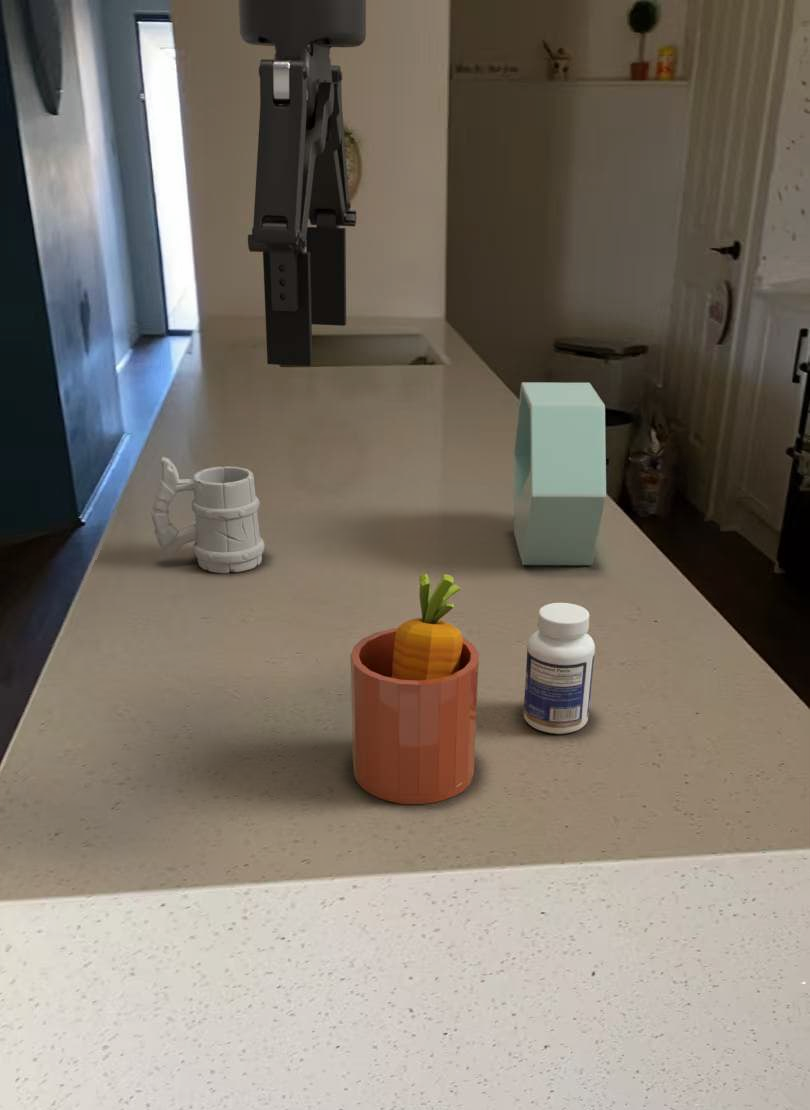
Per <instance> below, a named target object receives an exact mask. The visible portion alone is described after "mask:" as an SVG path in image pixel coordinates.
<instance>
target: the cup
mask: <svg viewBox="0 0 810 1110" xmlns="http://www.w3.org/2000/svg"><path fill="white" fill-rule="evenodd" d="M397 629H398V627H395V628H389V629H384V630H381V631H378V632H374V633H372V634H370V635H368V636H365V637H363V638H362V639H360V640H359V641H358V642H357V643H356V644H354V645H353V647H352V649H351V652H350V653H351V654H350V686H351V687H350V691H351V737H352V739H351V740H352V764H353V776H354V779H355V780H356V782H357V784H358V785H359V786H360V787H361V789H363V790H364V791H365V792H367V793H368V794H370V795H372V796H374V797H376V798H378V799H380V800H384V801H387V802H392V803H395V804H402V805H426V804H433V803H434V804H435V803H438V802H442V801H446V800H449V799H451V798H453V797H455V796H457V795H459V794H460V793H462V792H463V791H465V790H466V789H467V788H468V787H469V785H470V784H471V783H472V781H473V778H474V774H475V759H476V758H475V757H476V735H477V733H476V732H477V712H478V711H477V709H478V707H477V706H478V685H479V684H478V681H479V663H480V659H479V658H480V653H479V651H478V650H477V648H476V646H475V645H474V643H473V642H471V641H470V640H468V639H467V638H465V637H464V636H462V638H463V645H462V651H461V657H460V664H459V670H458V672H456V673H454V674H452V675H449V676H446V677H442V678H438V679H430V680H420V681H417V680H400V679H395V678H392V667H393V654H394V643H395V635H396V631H397Z"/></svg>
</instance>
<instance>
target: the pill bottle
mask: <svg viewBox="0 0 810 1110" xmlns="http://www.w3.org/2000/svg"><path fill="white" fill-rule="evenodd" d="M589 629H590V612H589V611H588V610H587V608H585V607H583V606H581V605H579V604H574V603H569V602H568V603H567V602H554V603H548V604H544V605H542V606H541V607H540V609H538V617H537V630H535V631H534V632H532V634H531V635H530V637H529V639H528V641H527V645H526V646H527V647H526V666H525V683H524V698H523V718H524V720H525V721H526V723H527V724H528V725H529V726H530V727H532V728H534V729H536V730H537V731H540V732H544V733H549V734H556V735H565V734H569V733H574V732H577V731H579V730H580V729H583V728H584V727H585V725H587V723H588V720H589V714H590V706H591V695H592V687H593V686H592V685H593V676H594V675H593V673H594V663H595V655H596V645H595V641H594V640H593V638H592V636H591V635H590V634H588V632H589Z"/></svg>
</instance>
